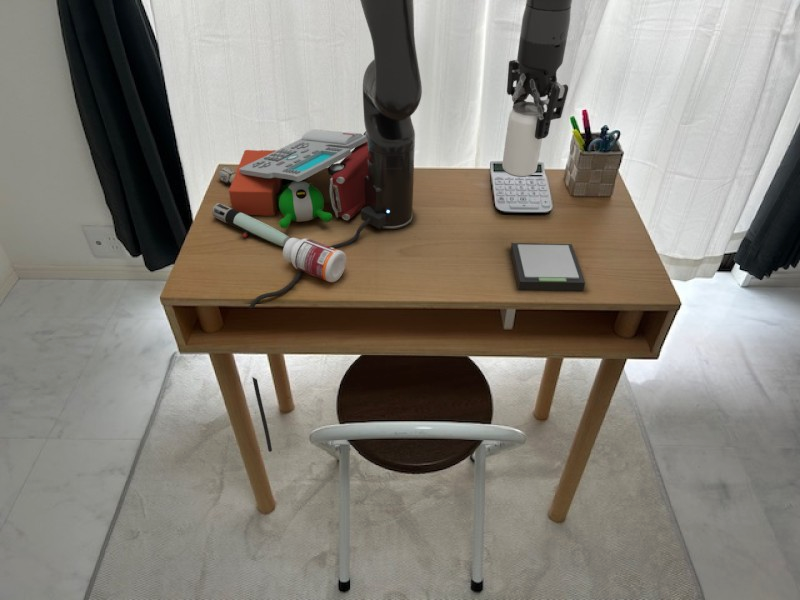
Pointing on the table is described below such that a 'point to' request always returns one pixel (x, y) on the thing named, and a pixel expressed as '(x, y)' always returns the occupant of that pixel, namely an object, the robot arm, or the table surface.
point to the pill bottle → (315, 258)
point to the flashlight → (249, 225)
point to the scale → (546, 267)
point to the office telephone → (305, 155)
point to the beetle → (227, 175)
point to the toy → (301, 203)
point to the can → (522, 141)
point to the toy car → (349, 182)
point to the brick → (254, 188)
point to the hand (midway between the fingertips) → (529, 129)
